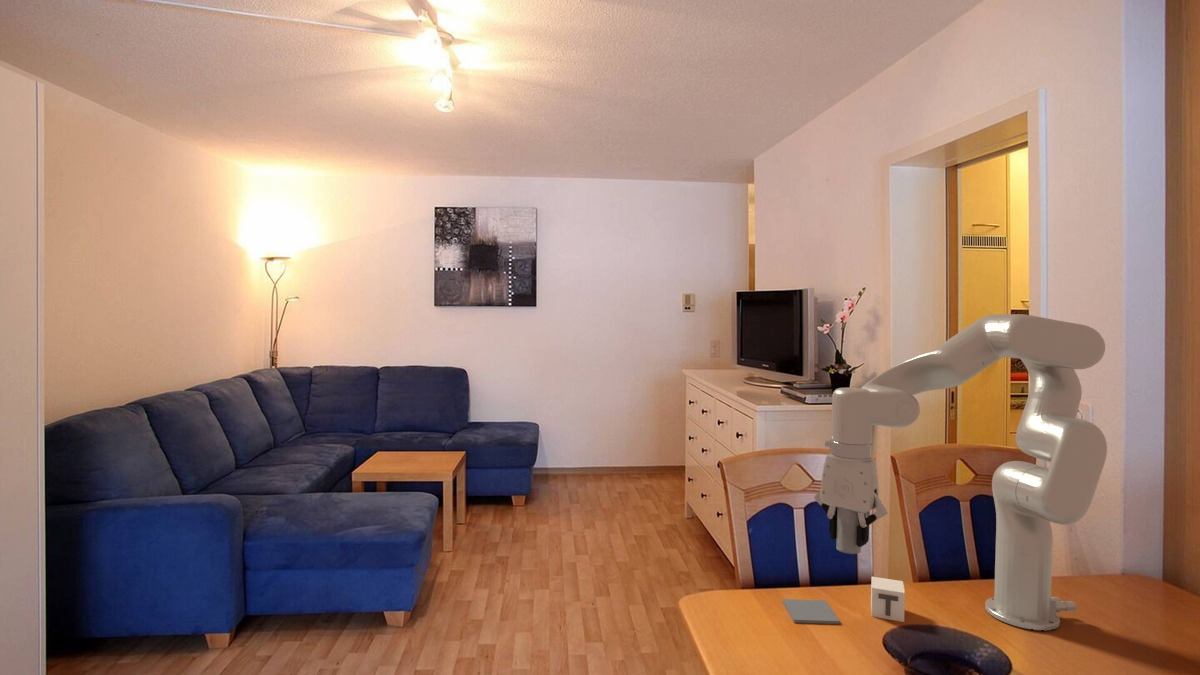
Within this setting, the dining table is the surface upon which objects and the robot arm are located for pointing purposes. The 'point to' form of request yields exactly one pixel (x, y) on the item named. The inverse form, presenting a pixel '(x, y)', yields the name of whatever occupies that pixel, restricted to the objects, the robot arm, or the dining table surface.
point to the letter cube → (887, 599)
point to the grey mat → (810, 611)
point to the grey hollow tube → (847, 531)
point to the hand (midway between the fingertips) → (848, 540)
